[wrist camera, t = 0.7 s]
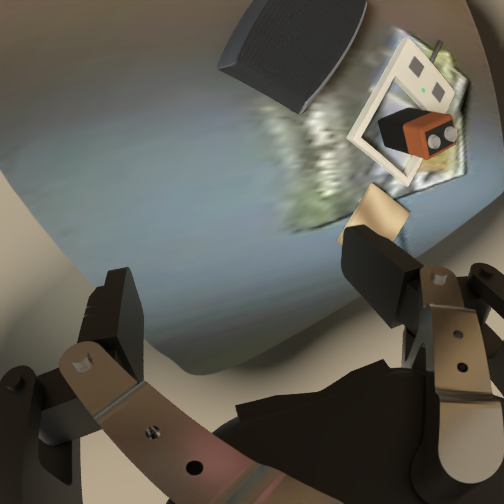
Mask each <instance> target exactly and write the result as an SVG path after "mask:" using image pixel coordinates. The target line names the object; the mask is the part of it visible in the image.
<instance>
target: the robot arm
mask: <svg viewBox="0 0 504 504" xmlns="http://www.w3.org/2000/svg"><path fill="white" fill-rule="evenodd" d="M341 268H342V272H343V275H344V276H345V278H346V279H347V280H348V281H349V282H350V283H351V284H352V286H353V287H354V288H355V289H356V290H357V291H358V292H359V293H360V294H361V295H362V297H363V298H364V299H365V300H366V301H367V302H368V303H369V304H370V305H371V307H372V308H373V309H374V310H375V311H376V312H377V313H378V314H379V316H380V317H381V318H382V319H383V320H384V321H385V322H386V324H387V325H388V326H389V327H390V328H394V327H397V326H399V325H401V324H404V325H405V328H404V331H403V344H402V363H401V364H402V365H401V368H390V367H389V366H388V365H387V364H386V362H385V361H384V360H383V359H382V360H379V361H377V362H374V363H372V364H369V365H367V366H364V367H362V368H359V369H356V370H354V371H351V372H350V373H348V374H347V375H345V376H344V377H342V378H341V379H339V380H338V381H336V382H334V383H333V384H332V385H330V386H328V387H327V388H325V389H323V390H321V391H319V392H312V393H303V394H289V395H275V396H272V397H268V398H264V399H260V400H256V401H252V402H248V403H244V404H239V405H235V407H236V412H237V417H236V418H234V419H232V420H230V421H228V422H227V423H225V424H223V425H222V426H220V427H219V428H218V429H217V430H215V431H214V432H213V433H211V432H209V431H208V430H207V429H205V428H204V427H202V426H201V425H200V424H198V423H197V422H196V421H194V420H193V419H192V418H190V417H189V416H188V415H186V414H185V413H184V412H183V411H181V410H180V409H179V408H178V407H176V406H175V405H174V404H173V403H171V402H170V401H169V400H168V399H166V398H165V397H164V396H163V395H162V394H160V393H159V392H158V391H157V390H156V389H155V388H153V387H152V386H151V385H150V384H149V383H147V382H146V381H144V375H143V340H144V315H143V309H142V305H141V302H140V299H139V295H138V292H137V289H136V286H135V283H134V280H133V276H132V273H131V270H130V268H129V267H125V268H120V269H115V270H109V271H108V273H107V277H106V280H105V284H104V286H100V287H97V288H96V289H95V290H94V292H93V293H92V294H91V295H90V297H89V299H88V303H87V308H86V310H85V314H84V316H85V317H84V318H83V322H82V325H81V329H80V333H79V338H78V342H77V344H75V345H73V346H72V347H70V348H69V349H67V350H66V351H65V353H64V354H63V355H62V357H61V359H60V362H59V368H57V369H54V370H52V371H49V372H47V373H44V374H41V375H39V376H37V375H36V374H35V372H34V371H33V370H32V369H31V368H30V367H28V366H17V367H14V368H12V369H11V370H9V371H8V372H7V373H6V374H5V375H4V376H3V378H2V379H1V381H0V504H83V502H82V489H81V466H80V437H83V436H85V435H88V434H90V433H93V432H96V431H98V430H101V429H103V430H104V432H105V433H106V434H107V435H108V436H109V437H110V439H111V440H112V441H113V442H114V443H115V444H116V445H117V447H118V448H119V449H120V450H121V451H122V452H123V453H124V454H125V455H126V456H127V457H128V459H130V461H131V462H132V463H133V464H134V465H135V466H136V467H137V468H138V469H139V470H140V471H141V472H142V473H143V474H144V475H145V476H146V477H147V478H148V479H149V480H150V481H151V482H152V483H153V484H154V485H156V486H157V487H158V488H159V489H160V490H161V491H162V492H163V493H164V494H165V495H166V496H168V497H169V499H168V501H167V503H166V504H504V398H501V397H498V396H495V395H493V393H492V388H491V381H492V382H493V383H494V385H495V386H496V387H497V388H498V390H499V391H500V392H501V393H502V395H503V396H504V341H502V340H501V339H500V337H499V336H498V335H497V334H496V333H495V332H494V331H493V330H492V329H491V328H490V327H489V326H488V325H487V324H486V323H485V321H486V319H487V317H488V315H489V312H490V310H491V308H493V309H494V310H495V311H496V312H497V313H498V314H499V315H500V316H501V317H502V318H503V319H504V275H503V274H502V273H501V272H499V271H498V270H497V269H496V268H494V267H492V266H490V265H488V264H485V263H475V264H473V265H472V266H471V268H470V272H469V275H468V276H465V277H456V276H455V274H454V273H453V272H452V271H451V270H449V269H447V268H445V267H443V266H439V265H426V266H423V265H422V264H421V263H420V262H418V261H417V260H416V259H415V258H413V257H412V256H411V255H409V254H408V253H407V252H405V251H403V249H402V248H400V247H399V246H397V245H396V244H395V243H394V242H392V241H391V240H390V239H388V238H386V237H383V236H381V235H379V234H377V233H376V232H374V231H373V230H372V229H370V228H369V227H368V226H366V225H365V224H361V225H355V226H350V227H346V228H345V229H344V232H343V244H342V257H341ZM490 380H491V381H490Z"/></svg>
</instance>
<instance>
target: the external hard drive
mask: <svg viewBox="0 0 504 504" xmlns="http://www.w3.org/2000/svg"><path fill="white" fill-rule="evenodd" d="M366 8H367V1H365V0H254V1H253V2H252V3H251V5H250V6H249V8H248V9H247V11H246V12H245V14H244V16H243V17H242V19H241V20H240V22H239V23H238V25H237V27H236V29H235V30H234V32H233V34H232V36H231V38H230V40H229V42H228V43H227V45H226V47H225V50H224V52H223V54H222V56H221V59H220V61H219V63H218V66H217V69H218V70H220V71H222V72H224V73H226V74H228V75H230V76H232V77H234V78H236V79H238V80H240V81H241V82H243V83H245V84H247V85H249V86H251V87H252V88H254V89H256V90H258V91H260V92H262V93H263V94H265V95H267V96H269V97H270V98H272V99H274V100H275V101H277V102H279V103H280V104H282V105H284V106H286V107H287V108H289V109H291V111H294V112H296V113H297V114H299V115H300V114H302V113H303V112H304V110H305V109H306V108H307V107H308V106H309V105H310V104H311V102H312V101H313V100H314V99H315V97H316V96H317V95H318V94H319V92H320V91H321V90H322V88H323V87H324V86H325V85H326V83H327V82H328V80H329V79H330V78H331V76H332V75H333V73H334V72H335V70H336V69H337V67H338V66H339V64H340V63H341V61H342V60H343V58H344V57H345V55H346V53H347V51H348V50H349V48H350V46H351V44H352V42H353V40H354V38H355V36H356V34H357V32H358V30H359V28H360V25H361V23H362V20H363V17H364V14H365V11H366Z"/></svg>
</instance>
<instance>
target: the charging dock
mask: <svg viewBox="0 0 504 504" xmlns="http://www.w3.org/2000/svg"><path fill="white" fill-rule="evenodd" d="M441 45H442V41H441V40H439V41H438V43H437V46H436V48H435V50H434V52H433V54H432V56H431V58H430V60H429V59H428V58H427V57H426V56H425V55H424V53H423V52H422V51H421V50H420V49H419V48H418V47H417V46H416V45H415V43H414V42H413V41H412V40H411V39H410V38H409V37H407V38H402V39H401V41H400V43H399V45H398V46H397V48H396V50H395V52H394V54H393V56H392V57H391V59H390V61H389V63H388V65H387V67H386V68H385V70H384V72H383V74H382V76H381V77H380V79H379V81H378V83H377V85H376V86H375V88H374V90H373V92H372V93H371V95H370V97H369V99H368V101H367V102H366V104H365V106H364V108H363V109H362V111H361V113H360V115H359V116H358V118H357V120H356V122H355V123H354V125H353V127H352V129H351V130H350V132H349V134H348V136H347V137H346V139H348V140H349V141H350V142H352V143H353V144H354V145H356V146H357V147H358V148H359V149H361V150H362V151H363V152H364V153H366V154H367V155H368V156H369V157H371V158H372V159H373V160H374V161H376V162H377V163H378V164H379V165H380V166H382V167H383V168H384V169H385V170H386V171H388V172H389V173H390V174H391V175H392V176H393V177H395V178H396V179H397V180H398V181H399V182H400V183H401V184H403V185H405V186H409V184H410V182H411V180H412V179H413V177H414V175H415V173H416V171H417V169H418V168H419V166H420V164H421V162H422V160H423V158H420V157H417V156H414V155H412V157H411V159H410V161H409V162H408V164H407V166H406V168H405V170H404V172H403V173H401V172H400V171H399V170H398V169H397V168H396V167H395V166H394V165H393V164H391V163H390V162H389V161H388V160H387V159H386V158H385V157H383V156H382V155H381V154H380V153H379V152H378V151H376V150H375V149H374V148H373V147H372V146H370V145H369V144H368V143H367V142H366V141H364V140H363V139H362V138H361V136H362V135H363V133H364V131H365V129H366V127H367V126H368V124H369V122H370V120H371V119H372V117H373V115H374V113H375V111H376V110H377V108H378V106H379V104H380V102H381V101H382V99H383V97H384V95H385V93H386V92H387V90H388V88H389V86H390V84H391V82H392V80H394V81H395V82H396V83H397V84H398V85H399V86H400V87H401V88H402V90H403V91H404V92H405V93H406V94H407V95H408V96H409V97H410V98H411V99H412V100H413V101H414V102H415V103H416V104H417V105H418V106H419V108H420V109H421V110H426V111H432V112H438V113H444V114H446V112H447V110H448V108H449V105H450V103H451V101H452V99H453V96H454V94H455V92H454V90H453V89H452V88H451V86H450V85H449V84H448V83H447V81H446V80H445V79H444V77H443V76H442V75H441V74H440V72H439V71H438V70H437V69H436V68H435V66H434V65H433V62H434V60H435V58H436V56H437V54H438V52H439V49H440V47H441Z"/></svg>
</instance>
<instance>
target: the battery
mask: <svg viewBox="0 0 504 504" xmlns="http://www.w3.org/2000/svg"><path fill="white" fill-rule="evenodd" d="M378 124H379V127H380V131H381V135H382V138H383V142H384V145H385V147H388V148H391V149H395V150H398V151H401V152H404V153H408V154H411V155H414V156H417V157H420V158H423V159H426V160H428V159H430V158H432V157H434V156H435V155H437V154H439V153H441V152H443V151H445V150H446V149H448V148H450V147H452V146H454V145H455V144H456V139H457V137H458V134H457V129H456V128H454V124H453V119H452V116H451V115H449V114H444V113H438V112H432V111H426V110H420V109H413V108H406V109H404V110H401V111H399V112H396V113H394V114H392V115H389V116H387V117H384V118H382V119H380V120H379V121H378Z"/></svg>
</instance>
